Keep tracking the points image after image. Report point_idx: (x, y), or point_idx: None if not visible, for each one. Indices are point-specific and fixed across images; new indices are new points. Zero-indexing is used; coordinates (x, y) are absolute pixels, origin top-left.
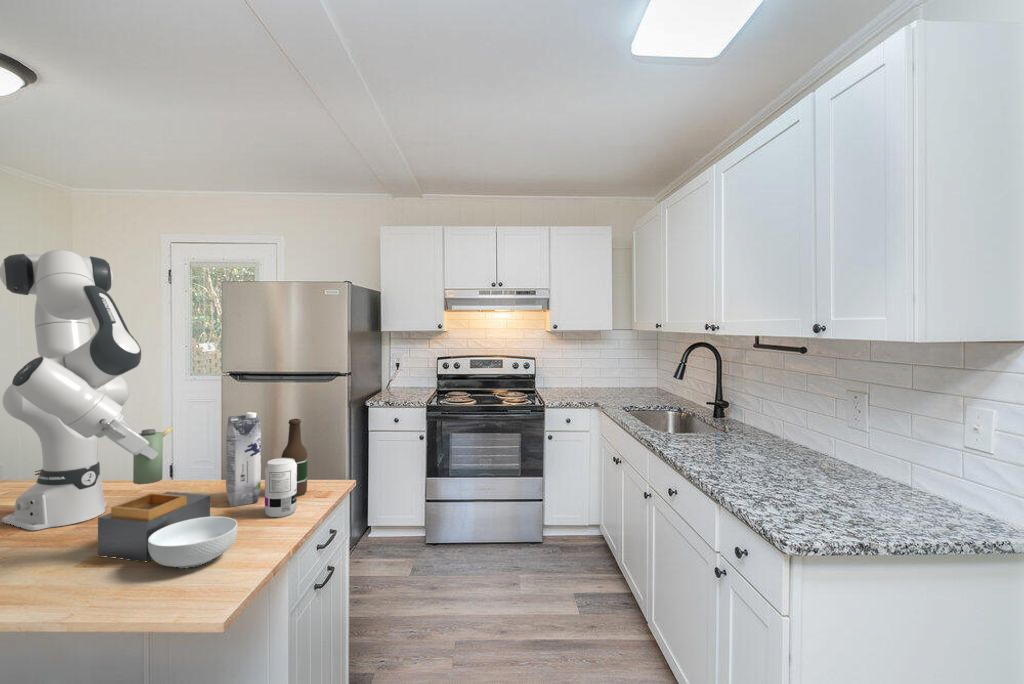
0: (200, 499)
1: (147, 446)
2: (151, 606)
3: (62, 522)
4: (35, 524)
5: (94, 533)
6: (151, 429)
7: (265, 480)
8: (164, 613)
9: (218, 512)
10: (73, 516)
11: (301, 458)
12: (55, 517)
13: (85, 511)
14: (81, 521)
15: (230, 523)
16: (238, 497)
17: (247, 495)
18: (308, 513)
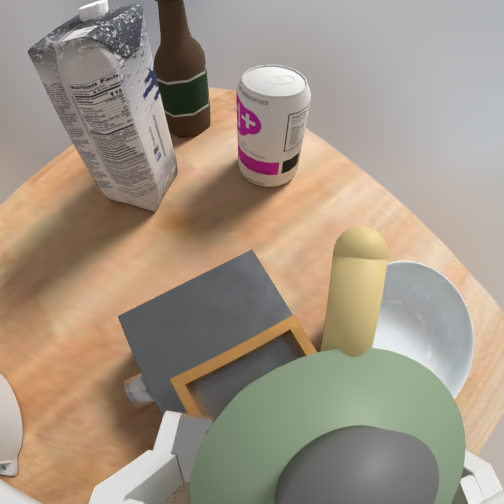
0: (269, 279)
1: (483, 466)
2: (477, 418)
3: (16, 445)
4: (2, 465)
5: (87, 438)
6: (339, 475)
7: (265, 133)
8: (496, 404)
9: (163, 238)
10: (12, 431)
11: (204, 60)
12: (6, 452)
13: (7, 413)
14: (21, 421)
15: (395, 269)
16: (162, 189)
17: (170, 175)
18: (306, 145)
